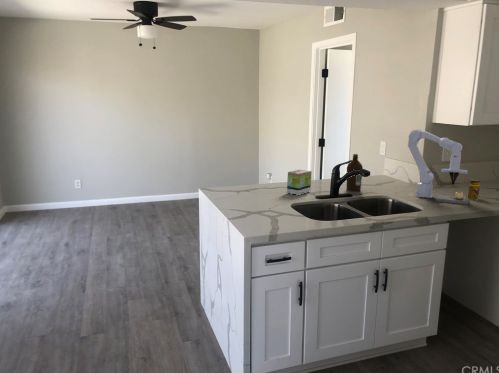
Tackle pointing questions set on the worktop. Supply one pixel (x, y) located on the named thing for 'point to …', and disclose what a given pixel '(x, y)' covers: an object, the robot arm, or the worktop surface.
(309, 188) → the tea box
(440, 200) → the jig
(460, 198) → the bushing
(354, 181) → the olive oil
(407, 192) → the worktop surface
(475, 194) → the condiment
